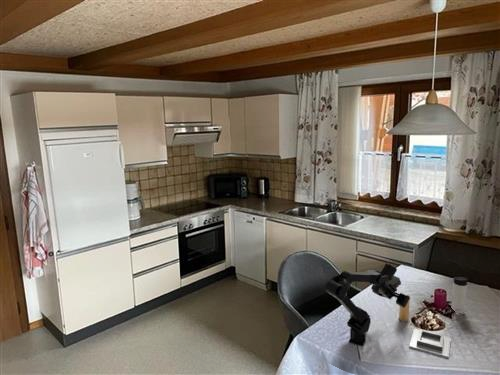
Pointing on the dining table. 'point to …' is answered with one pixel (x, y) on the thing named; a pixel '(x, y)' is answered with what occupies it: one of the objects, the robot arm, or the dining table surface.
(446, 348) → the socket
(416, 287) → the dining table surface
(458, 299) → the travel mug
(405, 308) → the rounded tan peg
